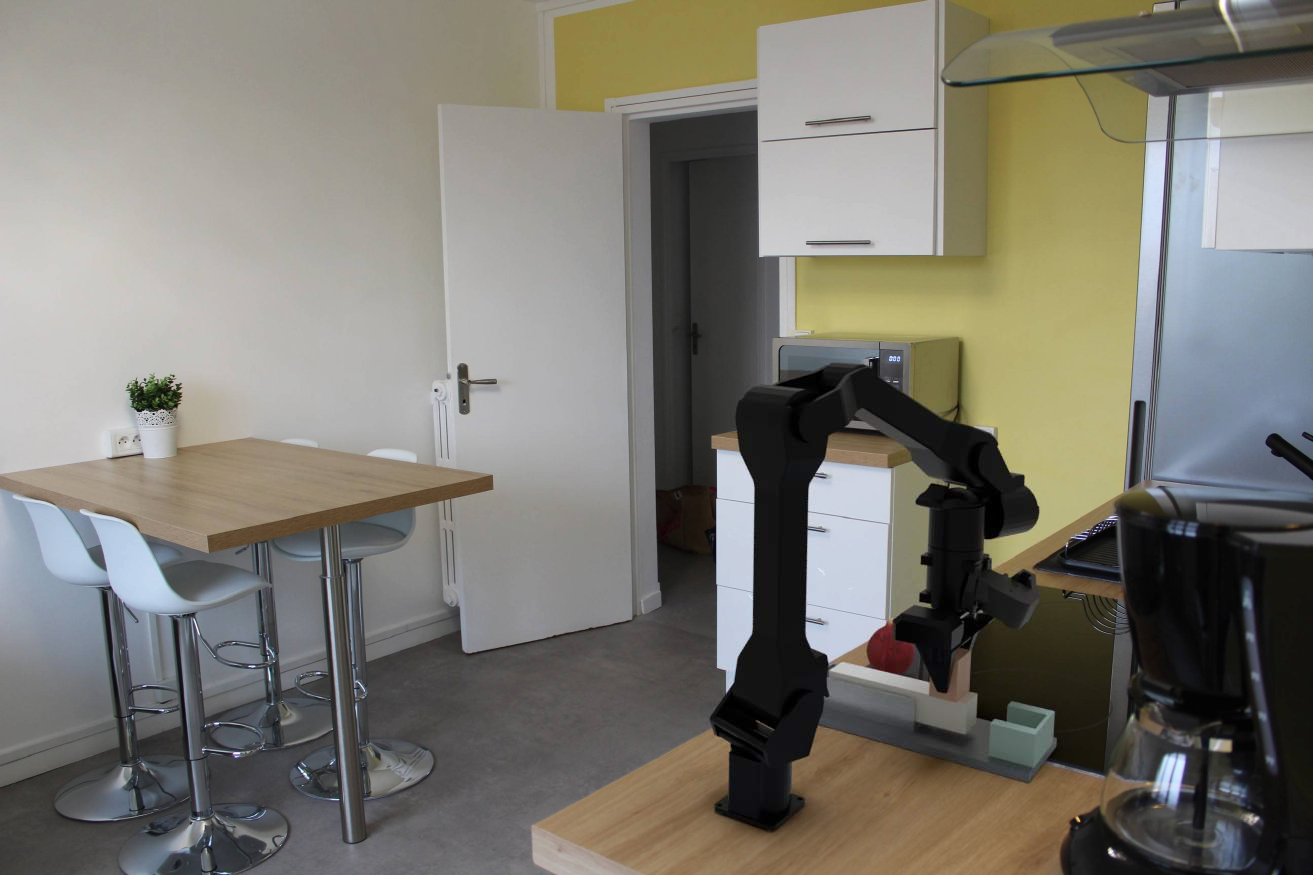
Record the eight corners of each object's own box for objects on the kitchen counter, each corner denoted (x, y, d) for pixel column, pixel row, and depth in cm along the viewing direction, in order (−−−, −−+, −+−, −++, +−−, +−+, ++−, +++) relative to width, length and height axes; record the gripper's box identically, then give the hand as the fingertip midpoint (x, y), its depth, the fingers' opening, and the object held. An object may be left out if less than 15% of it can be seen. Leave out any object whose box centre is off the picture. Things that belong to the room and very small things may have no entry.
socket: (1033, 767, 101) (1035, 734, 101) (988, 755, 104) (990, 723, 103) (1052, 742, 107) (1054, 711, 106) (1009, 731, 109) (1011, 701, 109)
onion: (918, 689, 124) (920, 626, 122) (870, 689, 124) (872, 626, 123) (907, 671, 129) (909, 611, 128) (862, 671, 130) (864, 611, 128)
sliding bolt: (964, 735, 107) (967, 662, 106) (827, 699, 116) (828, 632, 115) (976, 722, 110) (980, 651, 109) (842, 688, 119) (844, 623, 118)
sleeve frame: (1028, 782, 100) (1030, 739, 99) (796, 717, 115) (796, 680, 115) (1056, 746, 108) (1058, 706, 107) (835, 690, 123) (836, 655, 123)
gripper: (1004, 578, 95) (996, 735, 97) (1058, 539, 110) (1050, 676, 112) (892, 559, 101) (887, 707, 104) (958, 525, 116) (952, 655, 118)
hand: (949, 685), depth 109 cm, fingers closed on sliding bolt, 4 cm apart
